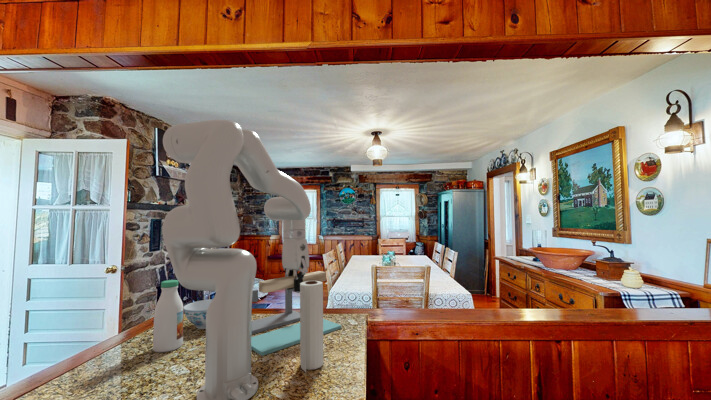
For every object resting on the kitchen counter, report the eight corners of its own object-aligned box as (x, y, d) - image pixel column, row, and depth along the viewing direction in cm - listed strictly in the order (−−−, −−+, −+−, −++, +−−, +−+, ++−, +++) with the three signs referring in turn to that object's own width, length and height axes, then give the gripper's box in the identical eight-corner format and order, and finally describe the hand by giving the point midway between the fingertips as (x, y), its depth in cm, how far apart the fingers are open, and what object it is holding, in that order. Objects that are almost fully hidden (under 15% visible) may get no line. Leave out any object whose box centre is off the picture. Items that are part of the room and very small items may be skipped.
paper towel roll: (313, 357, 84) (313, 279, 85) (328, 364, 79) (327, 281, 81) (291, 366, 78) (291, 283, 80) (305, 374, 74) (305, 286, 76)
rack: (307, 318, 117) (307, 266, 118) (247, 335, 100) (248, 274, 102) (293, 313, 124) (292, 264, 125) (235, 328, 107) (235, 271, 109)
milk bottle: (168, 354, 87) (170, 283, 89) (146, 352, 89) (148, 283, 90) (188, 343, 95) (189, 278, 96) (167, 341, 96) (169, 278, 98)
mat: (341, 328, 106) (341, 325, 106) (262, 356, 85) (262, 352, 85) (318, 319, 115) (318, 317, 115) (242, 343, 94) (242, 339, 94)
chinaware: (195, 336, 100) (195, 313, 101) (175, 327, 109) (176, 305, 110) (236, 323, 112) (236, 302, 113) (215, 316, 121) (216, 297, 122)
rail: (326, 280, 109) (326, 272, 109) (264, 293, 92) (264, 283, 92) (319, 279, 111) (319, 271, 111) (258, 291, 94) (258, 281, 94)
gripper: (318, 235, 99) (318, 291, 98) (290, 233, 111) (290, 284, 110) (299, 236, 94) (299, 296, 93) (272, 235, 106) (272, 288, 105)
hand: (294, 289), depth 101 cm, fingers closed on rail, 3 cm apart
